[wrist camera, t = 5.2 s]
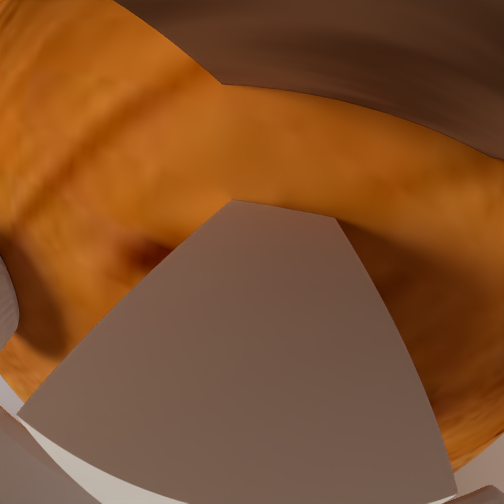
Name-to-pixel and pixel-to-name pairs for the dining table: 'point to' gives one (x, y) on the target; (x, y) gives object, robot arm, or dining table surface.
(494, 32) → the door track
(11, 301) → the ramekin
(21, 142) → the dining table surface
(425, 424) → the door panel
